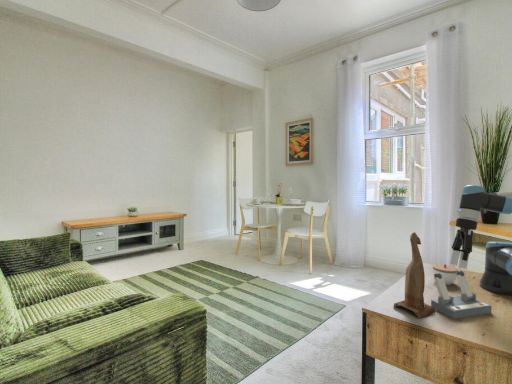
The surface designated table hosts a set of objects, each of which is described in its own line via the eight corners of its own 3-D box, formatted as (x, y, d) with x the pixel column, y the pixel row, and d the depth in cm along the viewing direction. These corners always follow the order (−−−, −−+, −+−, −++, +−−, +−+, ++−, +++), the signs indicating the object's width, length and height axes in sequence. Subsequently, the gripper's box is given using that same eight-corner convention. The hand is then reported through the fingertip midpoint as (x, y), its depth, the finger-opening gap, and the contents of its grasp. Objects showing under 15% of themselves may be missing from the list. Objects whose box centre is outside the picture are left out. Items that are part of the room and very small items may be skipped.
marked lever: (462, 299, 116) (453, 271, 120) (469, 298, 116) (459, 270, 121) (469, 299, 113) (458, 270, 117) (475, 298, 114) (465, 269, 118)
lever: (440, 302, 112) (430, 273, 117) (447, 301, 113) (437, 272, 118) (445, 302, 110) (436, 272, 114) (452, 301, 111) (443, 272, 115)
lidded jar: (461, 287, 136) (462, 268, 135) (437, 285, 138) (438, 267, 137) (450, 279, 146) (451, 262, 146) (428, 277, 148) (429, 260, 148)
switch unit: (431, 307, 115) (431, 293, 114) (466, 302, 119) (466, 289, 119) (453, 319, 105) (454, 304, 105) (491, 313, 110) (491, 299, 110)
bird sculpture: (436, 313, 110) (440, 233, 109) (419, 319, 104) (423, 235, 103) (408, 302, 120) (412, 229, 119) (392, 307, 114) (395, 230, 113)
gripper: (450, 218, 136) (441, 260, 136) (465, 216, 114) (455, 266, 113) (468, 222, 133) (459, 265, 132) (488, 220, 111) (477, 272, 110)
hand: (457, 266), depth 123 cm, fingers open, 13 cm apart
